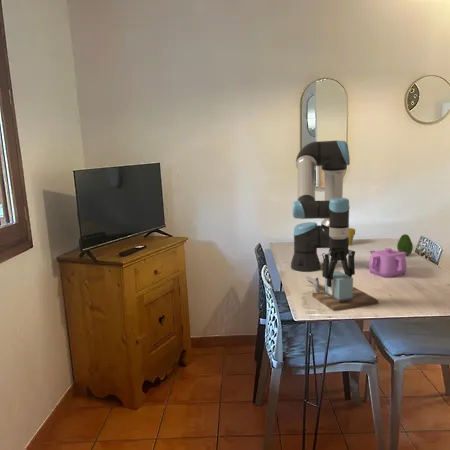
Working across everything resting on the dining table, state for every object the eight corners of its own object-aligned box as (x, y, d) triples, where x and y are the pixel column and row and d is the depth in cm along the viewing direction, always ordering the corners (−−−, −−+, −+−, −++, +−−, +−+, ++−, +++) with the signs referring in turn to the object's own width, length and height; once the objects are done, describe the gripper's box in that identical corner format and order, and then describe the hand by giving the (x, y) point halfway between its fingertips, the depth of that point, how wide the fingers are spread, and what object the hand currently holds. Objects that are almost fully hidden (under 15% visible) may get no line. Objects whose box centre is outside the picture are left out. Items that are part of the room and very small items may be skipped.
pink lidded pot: (368, 277, 204) (369, 251, 201) (369, 267, 219) (370, 243, 217) (407, 279, 198) (408, 253, 195) (405, 269, 213) (406, 245, 211)
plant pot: (357, 243, 272) (357, 228, 271) (352, 246, 264) (352, 231, 262) (340, 241, 278) (341, 227, 276) (335, 245, 269) (335, 230, 267)
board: (312, 296, 180) (312, 293, 180) (354, 290, 186) (354, 287, 185) (333, 310, 164) (333, 306, 164) (378, 303, 170) (378, 299, 169)
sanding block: (325, 293, 178) (325, 272, 177) (337, 291, 180) (338, 270, 178) (339, 302, 168) (339, 280, 166) (352, 299, 169) (352, 278, 168)
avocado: (405, 253, 244) (406, 232, 242) (415, 256, 237) (416, 234, 235) (393, 254, 242) (394, 233, 240) (403, 257, 234) (404, 236, 232)
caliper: (319, 292, 186) (319, 278, 184) (316, 292, 185) (316, 278, 184) (308, 278, 206) (308, 266, 204) (305, 278, 206) (305, 266, 204)
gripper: (322, 241, 163) (322, 299, 167) (365, 236, 168) (364, 292, 173) (312, 237, 170) (312, 293, 175) (354, 233, 176) (353, 287, 180)
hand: (338, 292), depth 174 cm, fingers closed on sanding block, 6 cm apart
